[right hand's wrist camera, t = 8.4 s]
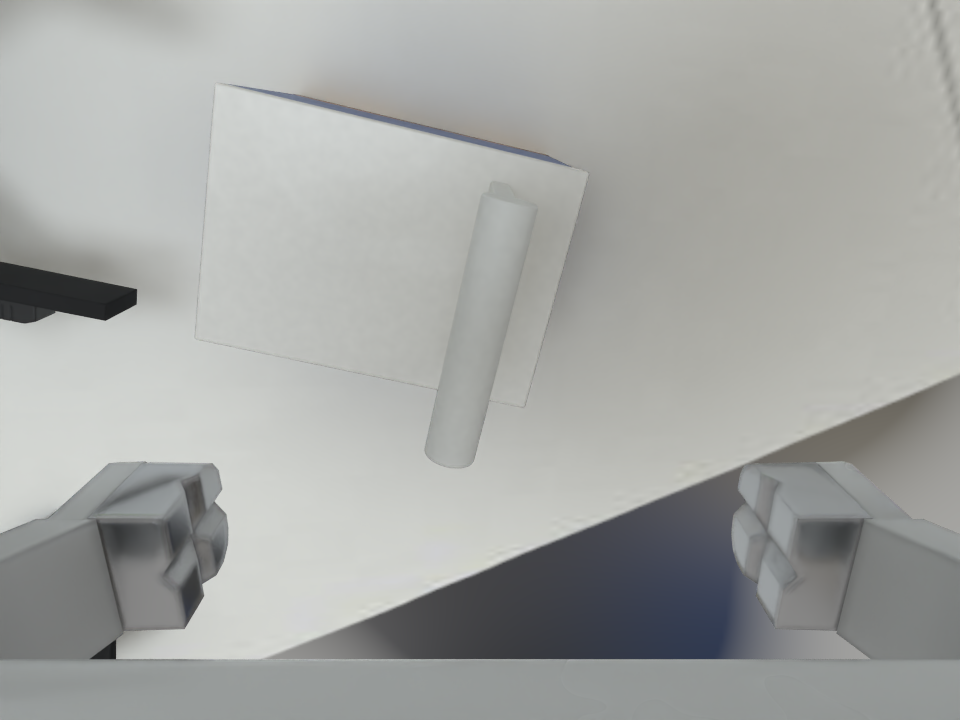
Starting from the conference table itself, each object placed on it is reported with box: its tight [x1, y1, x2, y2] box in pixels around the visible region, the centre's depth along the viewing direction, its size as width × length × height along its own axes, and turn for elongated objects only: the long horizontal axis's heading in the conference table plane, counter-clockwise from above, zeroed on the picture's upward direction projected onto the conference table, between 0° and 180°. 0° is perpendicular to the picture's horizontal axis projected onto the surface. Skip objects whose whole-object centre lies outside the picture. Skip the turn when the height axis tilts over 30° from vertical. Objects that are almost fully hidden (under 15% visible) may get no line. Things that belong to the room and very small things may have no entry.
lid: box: [195, 83, 589, 468], centre depth 21 cm, size 13×10×8 cm
